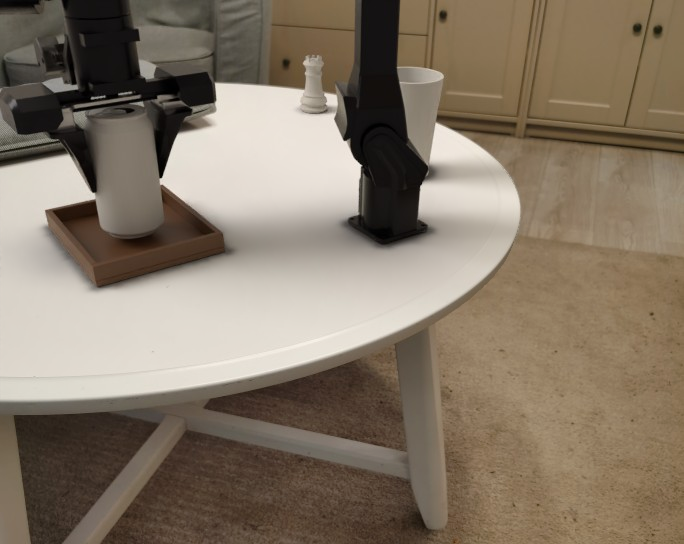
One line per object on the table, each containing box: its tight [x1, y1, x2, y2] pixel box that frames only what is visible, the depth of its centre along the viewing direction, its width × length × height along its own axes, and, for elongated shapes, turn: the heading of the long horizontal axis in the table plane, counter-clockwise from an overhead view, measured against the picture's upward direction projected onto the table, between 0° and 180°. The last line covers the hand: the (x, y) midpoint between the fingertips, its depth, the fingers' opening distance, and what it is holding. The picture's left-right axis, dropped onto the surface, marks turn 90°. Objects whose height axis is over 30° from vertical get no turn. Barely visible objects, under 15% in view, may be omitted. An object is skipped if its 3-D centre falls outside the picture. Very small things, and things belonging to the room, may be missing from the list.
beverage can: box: [82, 103, 164, 239], centre depth 70 cm, size 6×6×12 cm
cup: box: [397, 66, 445, 177], centre depth 88 cm, size 8×8×12 cm
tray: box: [44, 184, 226, 288], centre depth 73 cm, size 15×13×2 cm
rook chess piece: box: [299, 54, 329, 114], centre depth 111 cm, size 4×4×8 cm
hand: (126, 184), depth 70 cm, fingers closed on beverage can, 6 cm apart
